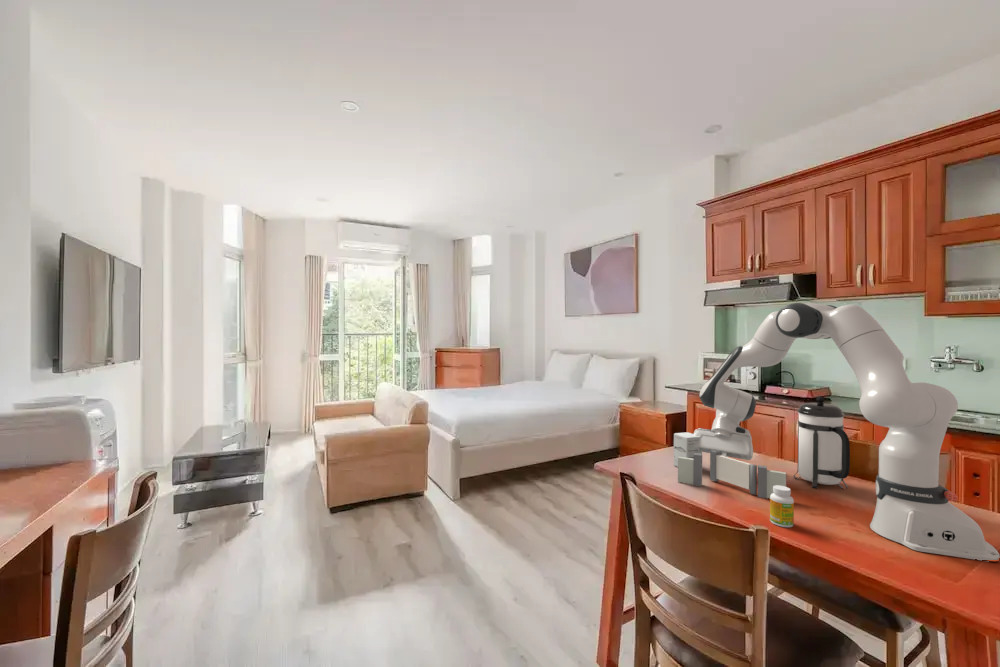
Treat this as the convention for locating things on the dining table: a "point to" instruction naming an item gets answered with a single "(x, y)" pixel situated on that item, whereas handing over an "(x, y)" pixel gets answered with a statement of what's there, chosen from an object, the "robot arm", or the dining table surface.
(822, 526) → the dining table surface
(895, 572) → the dining table surface
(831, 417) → the coffee press
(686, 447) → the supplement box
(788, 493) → the supplement bottle
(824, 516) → the dining table surface
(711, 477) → the gate
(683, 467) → the fence
